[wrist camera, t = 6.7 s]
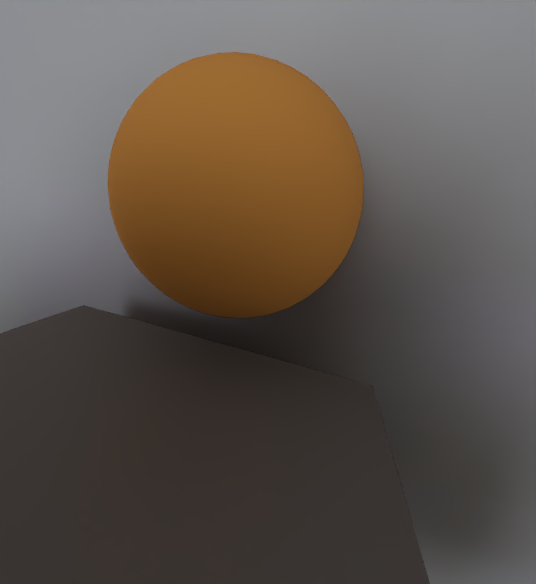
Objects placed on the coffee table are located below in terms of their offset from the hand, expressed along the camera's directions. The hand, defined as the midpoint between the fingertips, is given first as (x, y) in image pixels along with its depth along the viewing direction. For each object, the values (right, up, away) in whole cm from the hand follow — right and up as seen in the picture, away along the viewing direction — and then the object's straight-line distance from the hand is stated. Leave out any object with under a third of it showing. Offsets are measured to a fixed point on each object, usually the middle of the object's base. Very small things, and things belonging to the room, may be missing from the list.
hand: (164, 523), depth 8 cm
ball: (+2, +7, 0) cm, 7 cm away
